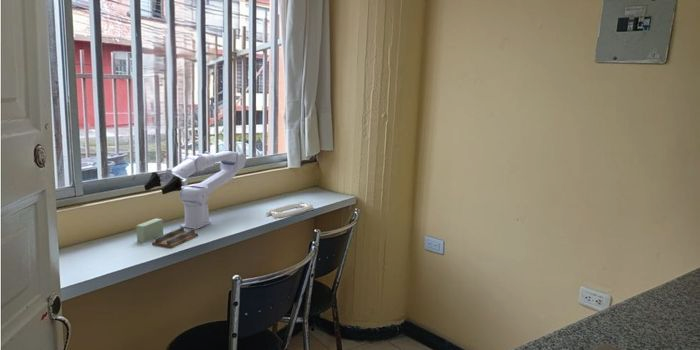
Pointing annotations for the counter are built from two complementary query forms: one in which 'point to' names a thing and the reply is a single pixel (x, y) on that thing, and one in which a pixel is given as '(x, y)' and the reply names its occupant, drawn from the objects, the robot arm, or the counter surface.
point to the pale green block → (149, 230)
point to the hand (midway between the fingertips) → (153, 189)
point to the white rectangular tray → (277, 214)
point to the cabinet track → (174, 238)
